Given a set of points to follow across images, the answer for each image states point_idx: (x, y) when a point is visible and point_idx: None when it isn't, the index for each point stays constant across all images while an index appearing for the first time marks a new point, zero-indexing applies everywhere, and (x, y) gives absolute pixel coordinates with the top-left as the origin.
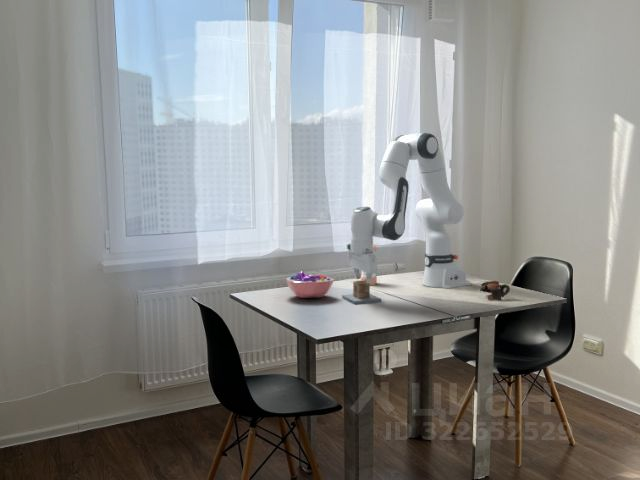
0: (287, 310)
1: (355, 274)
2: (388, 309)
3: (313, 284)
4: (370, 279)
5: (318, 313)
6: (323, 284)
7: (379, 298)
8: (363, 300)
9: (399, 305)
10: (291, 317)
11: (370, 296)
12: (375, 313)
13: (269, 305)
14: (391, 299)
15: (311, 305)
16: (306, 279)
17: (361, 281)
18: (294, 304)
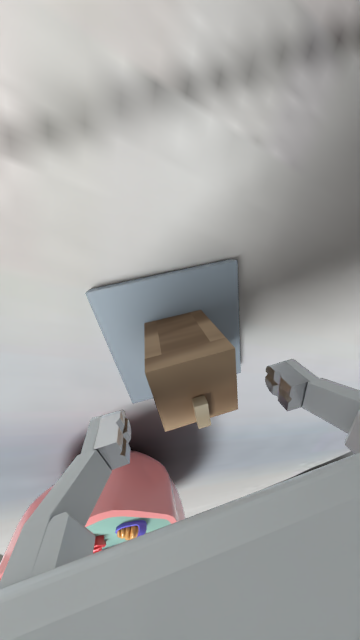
0: (235, 482)
1: (109, 470)
2: (345, 267)
3: None
4: (312, 373)
5: (282, 437)
6: (176, 509)
7: (230, 267)
8: (239, 341)
9: (323, 191)
10: (284, 469)
11: (178, 300)
12: (356, 322)
13: (184, 510)
14: (201, 181)
15: (208, 455)
16: None
17: (177, 392)
18: (188, 482)
